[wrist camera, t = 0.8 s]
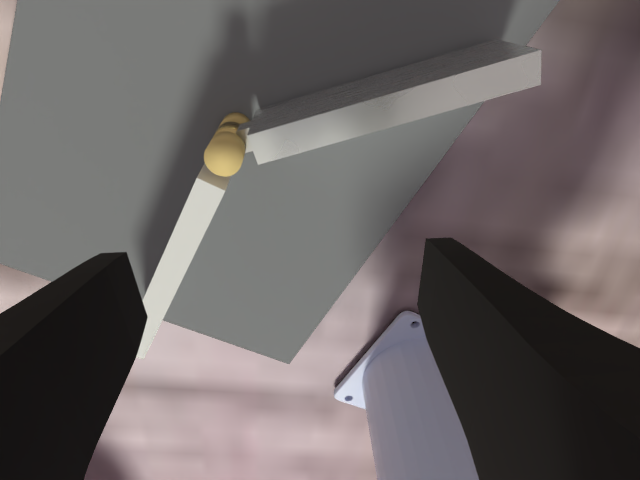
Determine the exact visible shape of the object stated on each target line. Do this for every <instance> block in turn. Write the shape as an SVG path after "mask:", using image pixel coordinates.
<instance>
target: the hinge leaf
mask: <svg viewBox="0 0 640 480" xmlns="http://www.w3.org/2000/svg"><path fill="white" fill-rule="evenodd" d="M541 51H542V50H540V49H536V48H532V47H527V46H523V45H519V44H514V43H510V42H506V41H502V40H497V39H494V40H490V41H487V42H483V43H480V44H477V45H473V46H470V47H467V48H463V49H460V50H457V51H453V52H450V53H446V54H443V55H440V56H436V57H433V58H430V59H426V60H423V61H420V62H416V63H413V64H409V65H406V66H403V67H399V68H396V69H393V70H389V71H386V72H382V73H379V74H376V75H372V76H369V77H366V78H362V79H359V80H356V81H352V82H349V83H345V84H342V85H339V86H335V87H332V88H329V89H325V90H322V91H319V92H315V93H312V94H308V95H305V96H302V97H298V98H295V99H292V100H288V101H285V102H282V103H278V104H275V105H271V106H268V107H265V108H261V109H258V110H256V111H255V114H254V117H253V120H252V121H249V122H245V123H242V124H239V123H237V122H231V121H230V122H225V123H223V124H221V125H220V126H219V128H218V129H217V131H216V132H215V134H214V136H215V135H216V134H217V133H219V132H223V131H229V132H233V133H235V134H236V135H238V136H239V137H240V138H241V139H242V141H243V142H244V145H245V153H247V152H251V151H253V153H254V155H255V158H256V161H257V163H258V165H260V164H263V163H267V162H270V161H274V160H277V159H281V158H284V157H288V156H291V155H295V154H298V153H302V152H305V151H309V150H313V149H316V148H320V147H323V146H327V145H330V144H334V143H337V142H341V141H344V140H348V139H351V138H355V137H359V136H362V135H366V134H369V133H373V132H376V131H380V130H383V129H387V128H390V127H394V126H397V125H401V124H404V123H408V122H412V121H415V120H419V119H422V118H426V117H429V116H433V115H436V114H440V113H443V112H447V111H450V110H454V109H458V108H461V107H465V106H468V105H472V104H475V103H479V102H482V101H486V100H489V99H493V98H496V97H500V96H503V95H507V94H511V93H514V92H518V91H521V90H525V89H528V88H532V87H535V86H539V85H541ZM214 136H213V137H214Z"/></svg>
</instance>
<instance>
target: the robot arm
mask: <svg viewBox="0 0 640 480" xmlns="http://www.w3.org/2000/svg"><path fill="white" fill-rule="evenodd" d="M417 305H418V309H419V313H420V315H418V314H416V313H414V312H412V311H404V312H401V313H400V314H399V315H398V316H397V317H396V319H395V320H394V321H393V322H392V323H391V324H390V325H389V327H388V328H387V329H386V330H385V331H384V332H383V334H382V335H381V336H380V337H379V338H378V339H377V341H376V342H375V343H374V344H373V345H372V346H371V348H370V349H369V350H368V351H367V352H366V353H365V355H364V356H363V357H362V358H361V359H360V360H359V362H358V363H357V364H356V365H355V366H354V367H353V369H352V370H351V371H350V372H349V373H348V374H347V376H346V377H345V378H344V379H343V380H342V381H341V382H340V384H339V385H338V386H337V387H336V388H335V390H334V397H335V399H337V400H339V401H342V402H345V403H348V404H351V405H354V406H357V407H360V408H363V409H366V413H367V419H368V425H369V431H370V438H371V444H372V450H373V456H374V462H375V468H376V474H377V480H640V348H638V347H636V346H634V345H631V344H629V343H627V342H625V341H623V340H621V339H619V338H617V337H614V336H612V335H611V334H609V333H607V332H605V331H603V330H601V329H599V328H597V327H595V326H593V325H591V324H589V323H587V322H585V321H583V320H581V319H579V318H577V317H575V316H574V315H572V314H570V313H568V312H566V311H565V310H563V309H561V308H559V307H558V306H556V305H554V304H553V303H551V302H549V301H548V300H546V299H544V298H543V297H541V296H539V295H537V294H536V293H534V292H533V291H531V290H529V289H528V288H526V287H525V286H523V285H521V284H520V283H518V282H517V281H515V280H514V279H512V278H511V277H509V276H508V275H506V274H505V273H503V272H502V271H500V270H499V269H497V268H496V267H494V266H493V265H491V264H490V263H489V262H487V261H486V260H484V259H483V258H481V257H480V256H478V255H477V254H476V253H474V252H473V251H471V250H470V249H468V248H467V247H465V246H464V245H462V244H461V243H459V242H457V241H456V240H454V239H452V238H431V239H426V242H425V250H424V258H423V265H422V273H421V280H420V288H419V296H418V303H417ZM147 318H148V316H147V313H146V310H145V307H144V304H143V301H142V298H141V295H140V292H139V289H138V286H137V282H136V279H135V276H134V273H133V270H132V267H131V264H130V261H129V258H128V255H127V252H114V253H100V254H98V255H96V256H94V257H92V258H90V259H88V260H87V261H85V262H83V263H81V264H80V265H78V266H77V267H75V268H73V269H72V270H70V271H68V272H67V273H65V274H64V275H62V276H60V277H59V278H57V279H56V280H54V281H52V282H51V283H49V284H48V285H46V286H45V287H43V288H41V289H40V290H38V291H37V292H35V293H33V294H32V295H30V296H29V297H27V298H25V299H24V300H22V301H21V302H19V303H17V304H16V305H14V306H12V307H11V308H9V309H7V310H6V311H4V312H2V313H1V314H0V480H84V477H85V474H86V471H87V468H88V465H89V462H90V460H91V457H92V455H93V452H94V450H95V448H96V445H97V443H98V440H99V438H100V436H101V434H102V432H103V429H104V427H105V425H106V423H107V421H108V418H109V416H110V414H111V412H112V410H113V407H114V405H115V403H116V401H117V399H118V396H119V394H120V392H121V390H122V388H123V385H124V383H125V381H126V379H127V376H128V374H129V372H130V370H131V367H132V365H133V363H134V360H135V358H136V356H137V353H138V350H139V347H140V343H141V340H142V337H143V333H144V329H145V325H146V322H147ZM415 321H417V322H416V323H413V324H412V322H415Z"/></svg>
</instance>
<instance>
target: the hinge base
mask: <svg viewBox="0 0 640 480" xmlns="http://www.w3.org/2000/svg"><path fill="white" fill-rule="evenodd" d="M558 2H559V0H17V6H16V12H15V18H14V24H13V30H12V36H11V42H10V48H9V54H8V60H7V66H6V71H5V77H4V83H3V89H2V95H1V101H0V264H2V265H5V266H8V267H11V268H14V269H17V270H20V271H23V272H25V273H28V274H31V275H34V276H37V277H40V278H43V279H46V280H49V281H51V282H52V281H54V280H56V279H57V278H59V277H60V276H62V275H64V274H65V273H67V272H68V271H70V270H72V269H73V268H75V267H77V266H78V265H80V264H81V263H83V262H85V261H87V260H88V259H90V258H92V257H94V256H96V255H98V254H100V253H114V252H127V255H128V258H129V261H130V264H131V267H132V270H133V273H134V276H135V279H136V282H137V286H138V289H139V292H140V295H141V298H142V301H143V304H144V307H145V310H146V313H147V316H148V318H147V322H146V325H145V329H144V333H143V337H142V340H141V343H140V347H139V350H138V353H137V356H136V357H137V358H140V359H144V357H145V355H146V353H147V351H148V349H149V347H150V345H151V343H152V341H153V339H154V337H155V335H156V332H157V330H158V328H159V326H160V324H161V322H162V320H164V321H166V322H169V323H172V324H175V325H178V326H181V327H184V328H187V329H189V330H192V331H195V332H198V333H201V334H204V335H207V336H210V337H212V338H215V339H218V340H221V341H224V342H227V343H230V344H233V345H236V346H238V347H241V348H244V349H247V350H250V351H253V352H256V353H259V354H261V355H264V356H267V357H270V358H273V359H276V360H279V361H282V362H284V363H287V364H290V362H291V361H292V360H293V358H294V357H295V355H296V354H297V353H298V351H299V350H300V349H301V347H302V346H303V345H304V343H305V342H306V341H307V339H308V338H309V337H310V335H311V334H312V333H313V331H314V330H315V329H316V327H317V326H318V325H319V323H320V322H321V320H322V319H323V318H324V316H325V315H326V314H327V312H328V311H329V310H330V308H331V307H332V306H333V304H334V303H335V302H336V300H337V299H338V298H339V296H340V295H341V294H342V292H343V291H344V290H345V288H346V287H347V286H348V284H349V283H350V281H351V280H352V279H353V277H354V276H355V275H356V273H357V272H358V271H359V269H360V268H361V267H362V265H363V264H364V263H365V261H366V260H367V259H368V257H369V256H370V255H371V253H372V252H373V251H374V249H375V248H376V247H377V245H378V244H379V242H380V241H381V240H382V238H383V237H384V236H385V234H386V233H387V232H388V230H389V229H390V228H391V226H392V225H393V224H394V222H395V221H396V220H397V218H398V217H399V216H400V214H401V213H402V212H403V210H404V209H405V208H406V206H407V205H408V203H409V202H410V201H411V199H412V198H413V197H414V195H415V194H416V193H417V191H418V190H419V189H420V187H421V186H422V185H423V183H424V182H425V181H426V179H427V178H428V177H429V175H430V174H431V173H432V171H433V170H434V169H435V167H436V166H437V164H438V163H439V162H440V160H441V159H442V158H443V156H444V155H445V154H446V152H447V151H448V150H449V148H450V147H451V146H452V144H453V143H454V142H455V140H456V139H457V138H458V136H459V135H460V134H461V132H462V131H463V130H464V128H465V127H466V125H467V124H468V123H469V121H470V120H471V119H472V117H473V116H474V115H475V113H476V112H477V111H478V109H479V108H480V107H481V105H482V104H483V103H484V101H482V102H479V103H475V104H472V105H468V106H465V107H461V108H458V109H454V110H450V111H447V112H443V113H440V114H436V115H433V116H429V117H426V118H422V119H419V120H415V121H412V122H408V123H404V124H401V125H397V126H394V127H390V128H387V129H383V130H380V131H376V132H373V133H369V134H366V135H362V136H359V137H355V138H351V139H348V140H344V141H341V142H337V143H334V144H330V145H327V146H323V147H320V148H316V149H313V150H309V151H305V152H302V153H298V154H295V155H291V156H288V157H284V158H281V159H277V160H274V161H270V162H267V163H263V164H260V165H258V163H257V161H256V158H255V155H254V153H253V151H251V152H247V153H245V145H244V142H243V141H242V139H241V138H240V137H239V136H238V135H236V134H235V133H233V132H229V131H223V132H219V133H217V134H216V135H215V136H214V134H215V132H216V131H217V129H218V128H219V126H220V125H221V124H223V123H225V122H230V121H231V122H237V123H239V124H242V123H245V122H249V121H252V120H253V117H254V114H255V111H256V110H258V109H261V108H265V107H268V106H271V105H275V104H278V103H282V102H285V101H288V100H292V99H295V98H298V97H302V96H305V95H308V94H312V93H315V92H319V91H322V90H325V89H329V88H332V87H335V86H339V85H342V84H345V83H349V82H352V81H356V80H359V79H362V78H366V77H369V76H372V75H376V74H379V73H382V72H386V71H389V70H393V69H396V68H399V67H403V66H406V65H409V64H413V63H416V62H420V61H423V60H426V59H430V58H433V57H436V56H440V55H443V54H446V53H450V52H453V51H457V50H460V49H463V48H467V47H470V46H473V45H477V44H480V43H483V42H487V41H490V40H494V39H497V40H502V41H506V42H510V43H514V44H519V45H523V46H526V45H527V43H528V42H529V41H530V39H531V38H532V37H533V35H534V34H535V33H536V31H537V30H538V29H539V27H540V26H541V25H542V23H543V22H544V21H545V19H546V18H547V17H548V15H549V14H550V12H551V11H552V10H553V8H554V7H555V6H556V4H557V3H558ZM213 136H214V137H213Z"/></svg>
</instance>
